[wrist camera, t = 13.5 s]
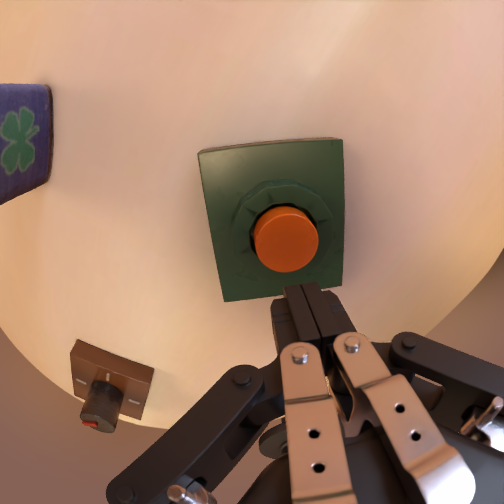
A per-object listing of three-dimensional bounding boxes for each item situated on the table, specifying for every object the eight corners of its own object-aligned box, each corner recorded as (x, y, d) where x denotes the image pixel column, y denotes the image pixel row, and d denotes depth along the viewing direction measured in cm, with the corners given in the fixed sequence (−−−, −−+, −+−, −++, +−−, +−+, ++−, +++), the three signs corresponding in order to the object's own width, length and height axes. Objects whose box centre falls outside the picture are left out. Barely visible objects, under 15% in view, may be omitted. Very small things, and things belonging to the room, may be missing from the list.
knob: (111, 380, 26) (100, 416, 22) (129, 402, 28) (121, 436, 24) (85, 380, 27) (72, 413, 22) (103, 401, 29) (93, 433, 24)
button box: (334, 273, 25) (349, 298, 21) (224, 288, 25) (223, 316, 21) (332, 137, 19) (353, 141, 16) (200, 150, 19) (193, 155, 16)
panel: (143, 406, 33) (140, 421, 30) (79, 382, 31) (74, 396, 28) (154, 368, 29) (150, 385, 27) (77, 339, 27) (69, 354, 24)
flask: (34, 87, 15) (-54, 90, 5) (57, 81, 15) (-33, 77, 6) (32, 185, 19) (-48, 230, 9) (54, 184, 19) (-29, 231, 10)
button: (312, 256, 20) (318, 268, 18) (256, 264, 20) (258, 276, 18) (310, 202, 18) (318, 210, 16) (250, 209, 18) (252, 218, 16)
